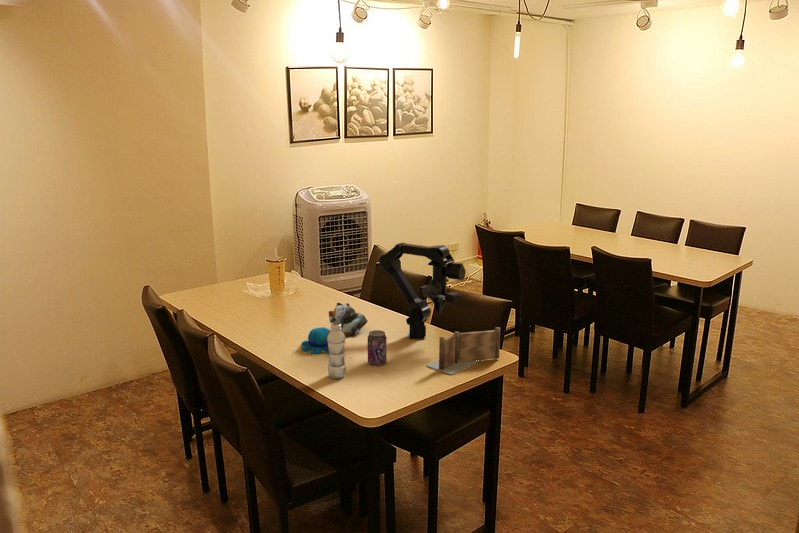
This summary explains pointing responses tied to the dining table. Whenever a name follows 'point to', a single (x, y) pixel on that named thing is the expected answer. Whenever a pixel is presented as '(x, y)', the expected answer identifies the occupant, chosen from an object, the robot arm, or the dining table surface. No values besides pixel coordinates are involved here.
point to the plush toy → (317, 341)
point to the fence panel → (479, 345)
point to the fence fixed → (448, 350)
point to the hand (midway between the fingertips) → (438, 313)
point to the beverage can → (377, 347)
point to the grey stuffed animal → (347, 319)
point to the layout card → (453, 366)
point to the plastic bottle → (336, 351)
